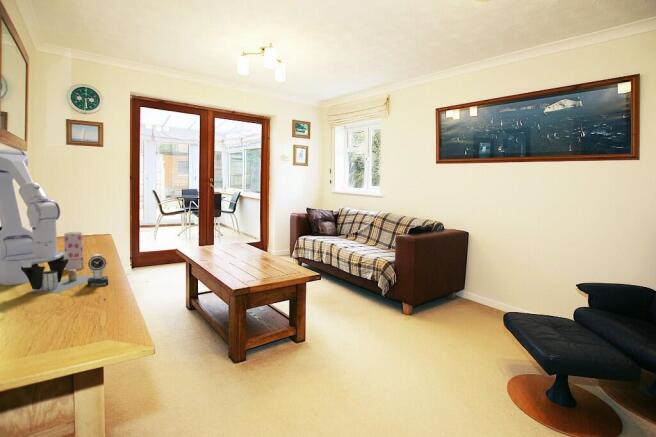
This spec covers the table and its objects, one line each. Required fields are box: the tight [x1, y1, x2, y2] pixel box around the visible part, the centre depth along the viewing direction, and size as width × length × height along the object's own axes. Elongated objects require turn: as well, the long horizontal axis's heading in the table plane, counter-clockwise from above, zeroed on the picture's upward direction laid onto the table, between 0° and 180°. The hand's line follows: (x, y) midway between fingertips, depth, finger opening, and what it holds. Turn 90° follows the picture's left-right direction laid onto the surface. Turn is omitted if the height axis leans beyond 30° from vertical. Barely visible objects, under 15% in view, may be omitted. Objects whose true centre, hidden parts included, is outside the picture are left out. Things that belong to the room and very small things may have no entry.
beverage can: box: [63, 231, 85, 272], centre depth 135 cm, size 6×6×15 cm
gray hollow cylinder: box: [36, 270, 58, 291], centre depth 110 cm, size 5×5×5 cm
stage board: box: [28, 274, 93, 294], centre depth 116 cm, size 9×20×1 cm, turn 179°
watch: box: [87, 253, 109, 288], centre depth 116 cm, size 6×8×11 cm
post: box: [67, 269, 78, 282], centre depth 119 cm, size 2×2×4 cm
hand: (46, 285), depth 110 cm, fingers open, 7 cm apart
